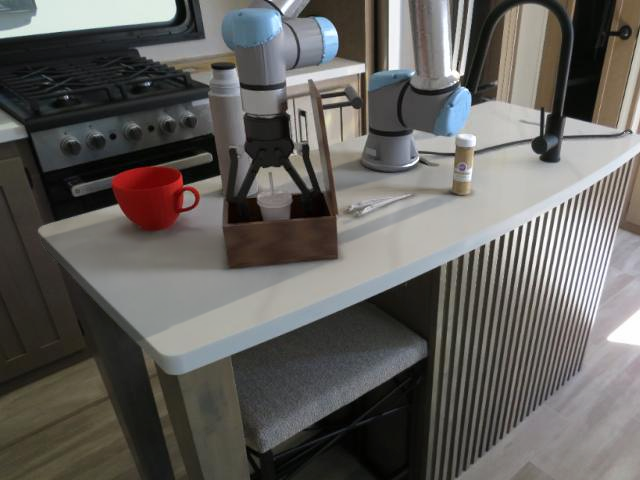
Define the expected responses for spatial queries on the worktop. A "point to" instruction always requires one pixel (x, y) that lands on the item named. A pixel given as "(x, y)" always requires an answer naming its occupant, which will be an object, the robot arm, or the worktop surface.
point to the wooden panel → (321, 132)
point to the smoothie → (274, 203)
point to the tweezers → (375, 201)
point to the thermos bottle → (228, 122)
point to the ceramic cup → (152, 196)
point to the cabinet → (280, 234)
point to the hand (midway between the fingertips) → (278, 232)
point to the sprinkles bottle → (463, 163)
